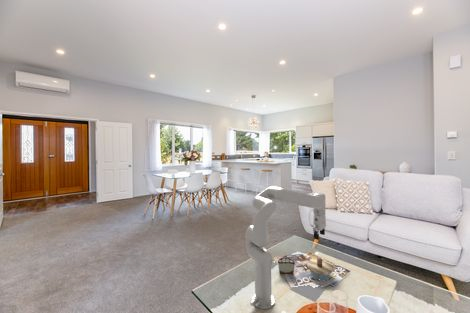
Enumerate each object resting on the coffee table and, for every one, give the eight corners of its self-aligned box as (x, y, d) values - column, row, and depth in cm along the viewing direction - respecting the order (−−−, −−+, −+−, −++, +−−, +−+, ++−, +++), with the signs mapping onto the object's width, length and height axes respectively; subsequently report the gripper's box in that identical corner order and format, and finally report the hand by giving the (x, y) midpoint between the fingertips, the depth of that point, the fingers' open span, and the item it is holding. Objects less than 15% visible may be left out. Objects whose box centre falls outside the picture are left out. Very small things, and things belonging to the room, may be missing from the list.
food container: (294, 270, 151) (293, 257, 151) (295, 275, 145) (295, 261, 145) (276, 270, 153) (276, 256, 152) (277, 275, 146) (277, 261, 146)
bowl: (325, 284, 136) (325, 275, 135) (307, 276, 144) (307, 268, 144) (332, 275, 144) (332, 267, 144) (314, 268, 153) (314, 260, 152)
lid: (327, 278, 133) (327, 268, 132) (303, 268, 144) (303, 259, 143) (336, 266, 144) (336, 258, 144) (313, 258, 155) (313, 250, 155)
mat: (315, 303, 120) (315, 302, 120) (289, 290, 131) (289, 289, 131) (326, 288, 132) (326, 287, 132) (301, 278, 143) (301, 276, 143)
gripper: (319, 216, 133) (319, 242, 134) (329, 209, 145) (329, 234, 146) (308, 213, 138) (308, 239, 139) (319, 207, 150) (319, 231, 151)
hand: (319, 236), depth 142 cm, fingers open, 9 cm apart
